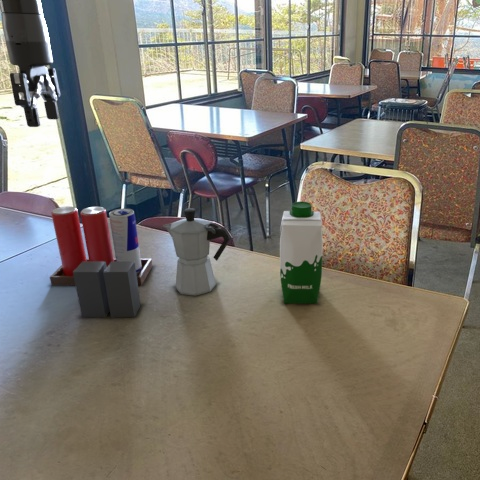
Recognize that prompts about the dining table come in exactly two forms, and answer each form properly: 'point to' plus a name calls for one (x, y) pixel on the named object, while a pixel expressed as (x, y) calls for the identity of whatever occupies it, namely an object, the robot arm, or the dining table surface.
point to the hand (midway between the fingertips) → (44, 122)
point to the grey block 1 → (91, 288)
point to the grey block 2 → (122, 288)
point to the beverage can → (125, 236)
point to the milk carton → (301, 254)
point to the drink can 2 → (97, 234)
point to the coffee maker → (195, 252)
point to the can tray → (62, 280)
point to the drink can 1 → (69, 238)
